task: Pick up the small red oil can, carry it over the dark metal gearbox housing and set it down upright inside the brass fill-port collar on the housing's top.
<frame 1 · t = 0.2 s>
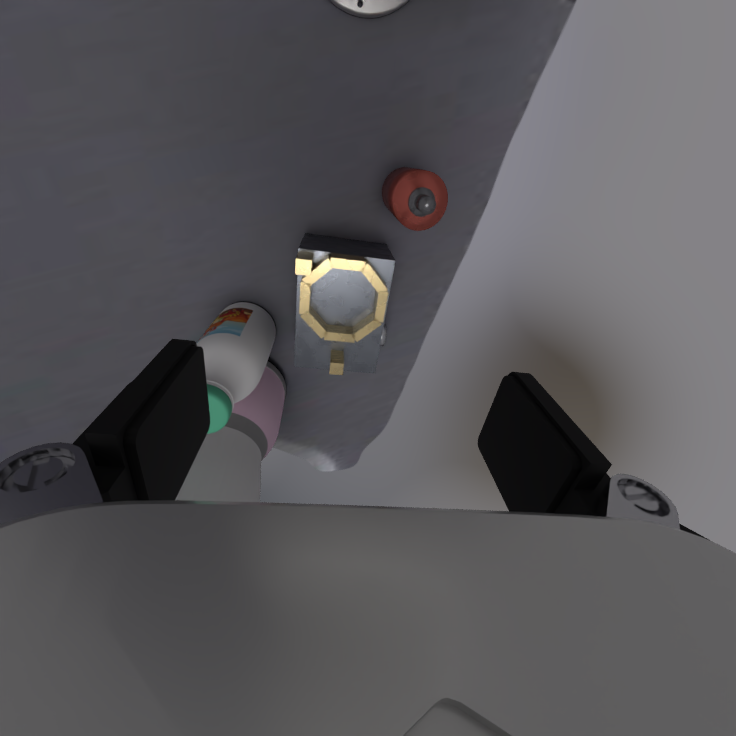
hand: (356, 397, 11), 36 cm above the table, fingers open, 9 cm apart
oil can: (403, 192, 40), on the table
blender: (250, 390, 53), on the table, touching milk bottle
milk bottle: (248, 327, 48), on the table, touching blender
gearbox: (340, 293, 46), on the table
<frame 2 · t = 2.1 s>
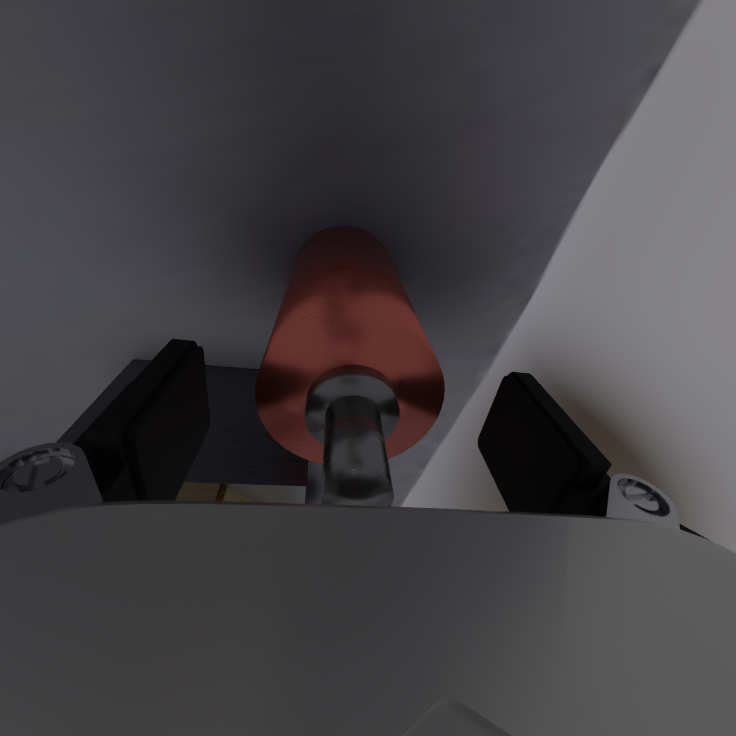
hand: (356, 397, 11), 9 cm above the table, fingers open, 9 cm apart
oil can: (343, 278, 18), on the table
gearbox: (234, 453, 24), on the table
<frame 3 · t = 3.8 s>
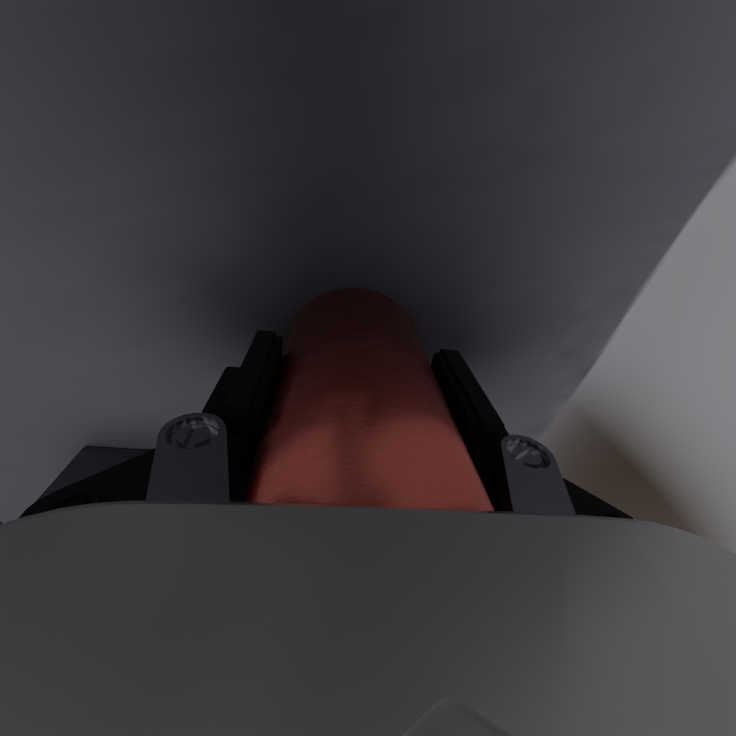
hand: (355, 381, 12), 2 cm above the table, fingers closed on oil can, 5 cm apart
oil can: (352, 350, 14), on the table, touching gripper
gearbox: (216, 545, 19), on the table
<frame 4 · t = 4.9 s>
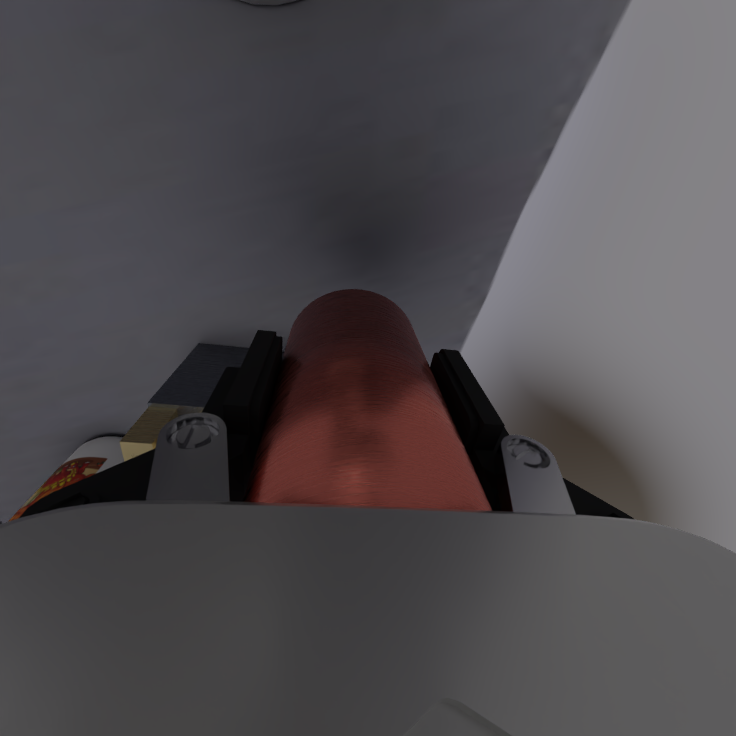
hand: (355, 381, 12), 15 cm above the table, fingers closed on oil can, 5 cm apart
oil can: (352, 350, 14), point 13 cm above the table, touching gripper
milk bottle: (125, 464, 32), on the table, touching blender
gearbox: (264, 421, 31), on the table
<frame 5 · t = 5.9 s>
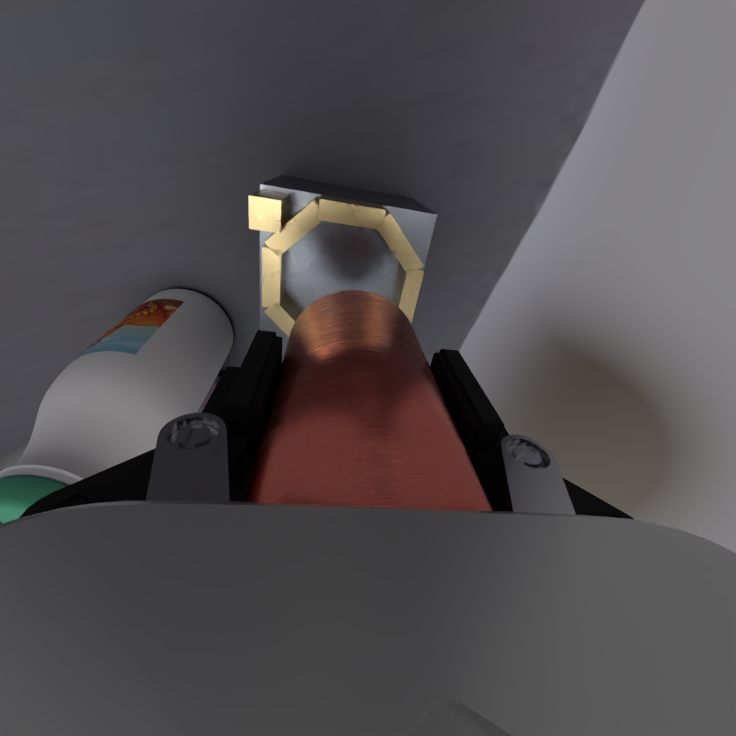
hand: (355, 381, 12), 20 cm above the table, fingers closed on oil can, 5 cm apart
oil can: (352, 351, 14), point 18 cm above the table, touching gripper
milk bottle: (191, 326, 31), on the table, touching blender
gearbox: (337, 278, 30), on the table
when the fingers open (12 cm above the table, at t = 8.1 s): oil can drops 2 cm, resting on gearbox.
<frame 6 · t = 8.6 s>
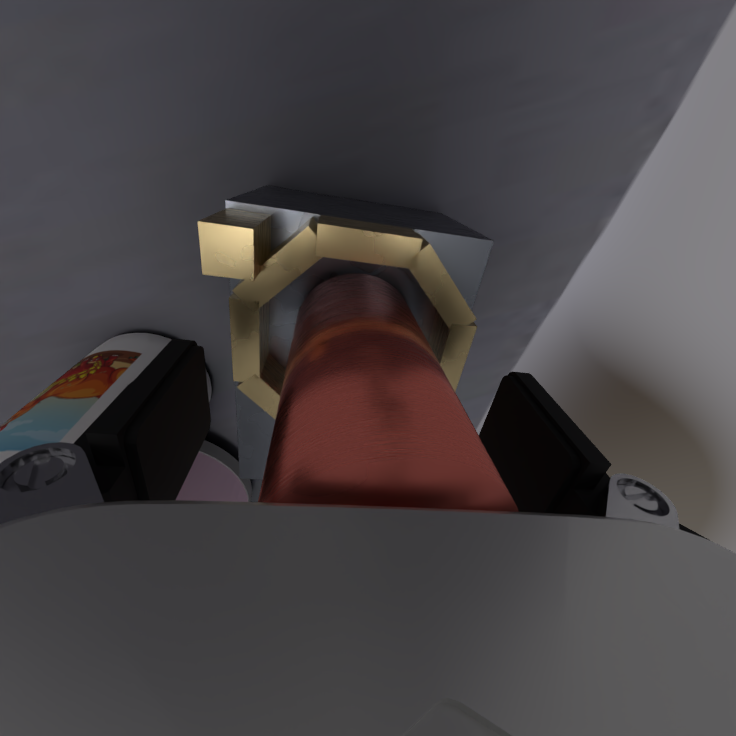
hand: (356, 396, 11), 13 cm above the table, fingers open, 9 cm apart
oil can: (354, 331, 15), point 8 cm above the table, touching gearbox
blender: (193, 485, 31), on the table, touching milk bottle
milk bottle: (158, 376, 25), on the table, touching blender
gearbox: (343, 314, 23), on the table
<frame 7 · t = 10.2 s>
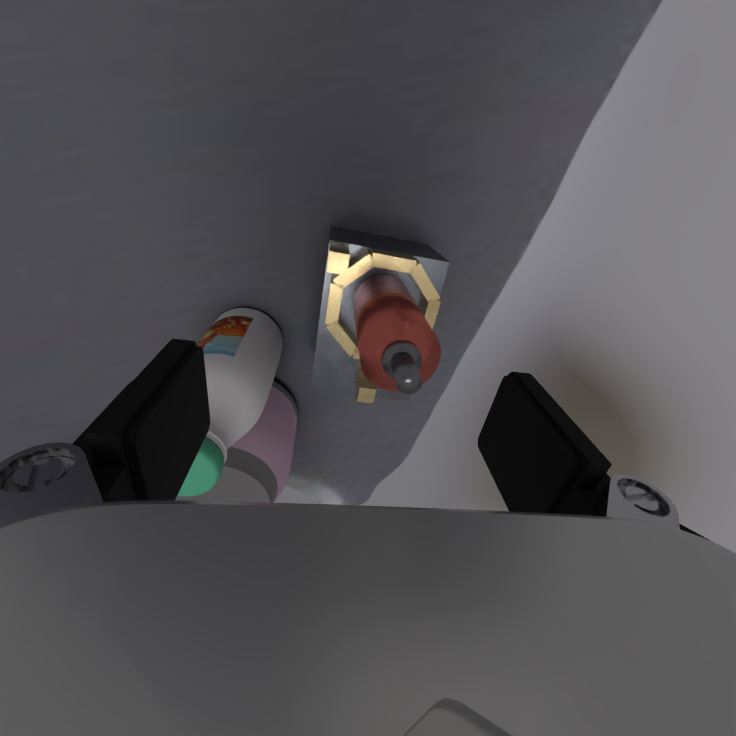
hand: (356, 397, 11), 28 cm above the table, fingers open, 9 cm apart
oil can: (381, 303, 30), point 8 cm above the table, touching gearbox
blender: (256, 418, 45), on the table, touching milk bottle
milk bottle: (249, 337, 39), on the table, touching blender
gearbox: (367, 302, 38), on the table
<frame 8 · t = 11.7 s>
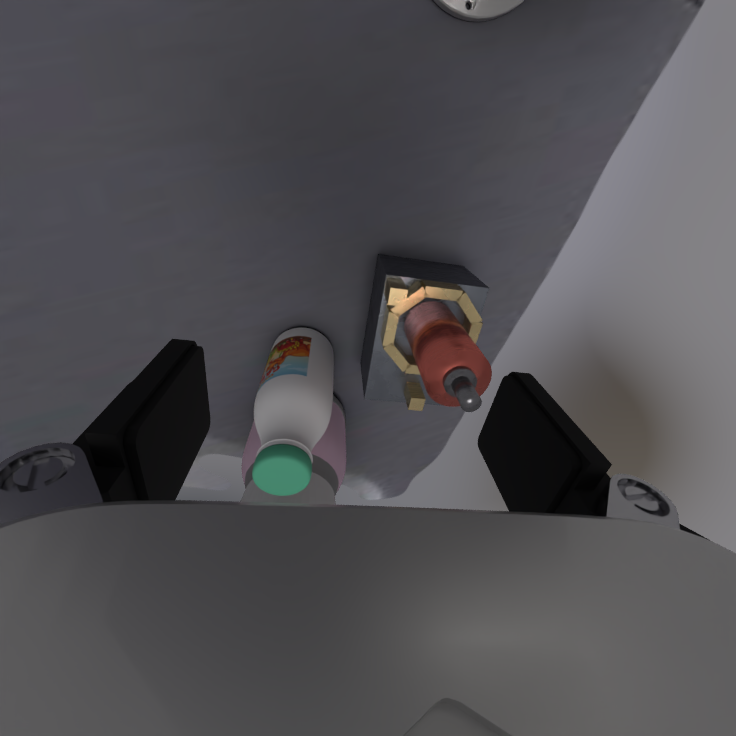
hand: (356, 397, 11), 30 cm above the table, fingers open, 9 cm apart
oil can: (429, 325, 34), point 8 cm above the table, touching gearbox
blender: (307, 421, 50), on the table, touching milk bottle
milk bottle: (303, 352, 44), on the table, touching blender
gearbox: (408, 317, 43), on the table
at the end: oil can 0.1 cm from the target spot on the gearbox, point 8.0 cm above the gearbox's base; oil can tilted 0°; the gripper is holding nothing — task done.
